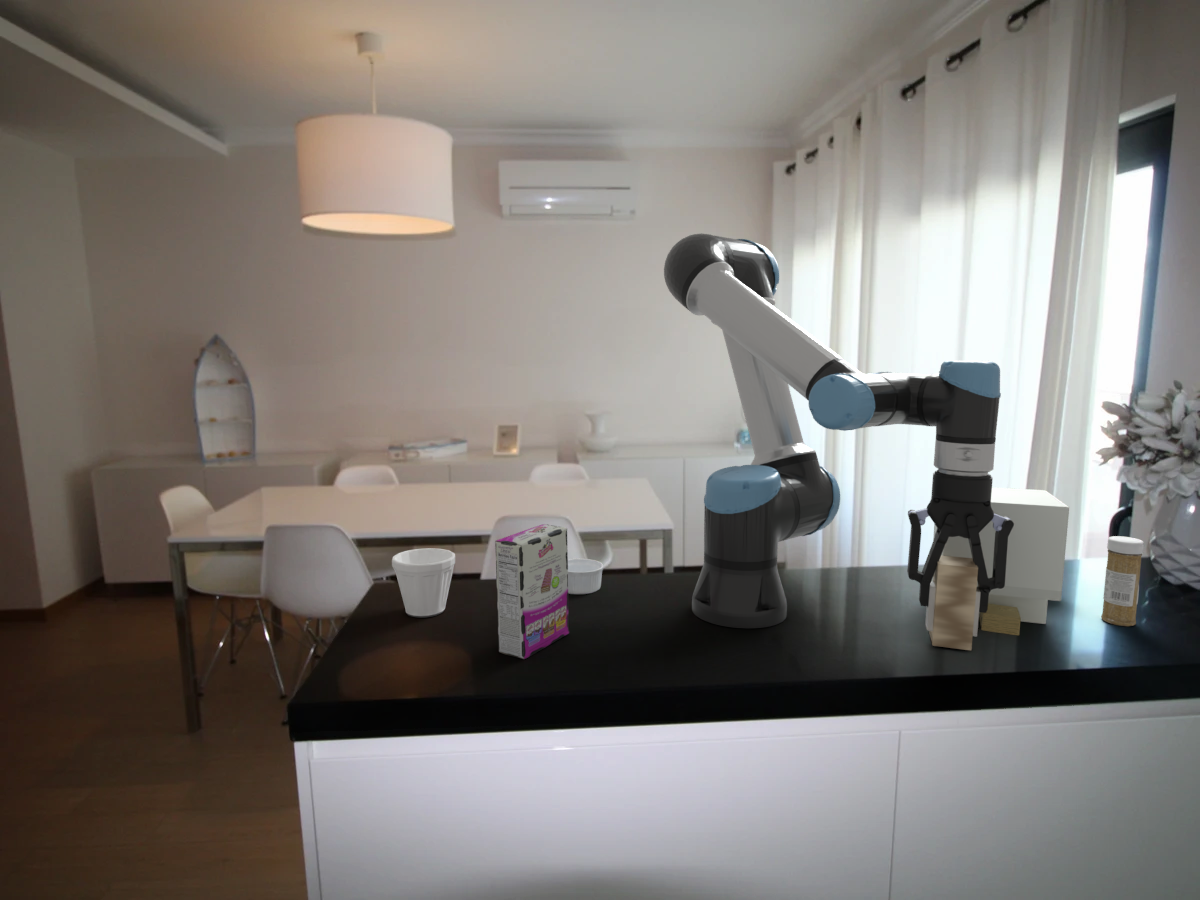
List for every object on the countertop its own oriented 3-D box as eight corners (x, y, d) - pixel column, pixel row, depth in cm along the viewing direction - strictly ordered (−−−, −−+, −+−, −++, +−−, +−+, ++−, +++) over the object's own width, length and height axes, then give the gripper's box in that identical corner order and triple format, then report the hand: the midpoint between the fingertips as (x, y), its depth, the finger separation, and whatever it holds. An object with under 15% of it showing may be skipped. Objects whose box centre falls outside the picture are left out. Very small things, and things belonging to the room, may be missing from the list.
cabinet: (938, 626, 112) (946, 499, 109) (929, 598, 125) (936, 484, 122) (1057, 640, 107) (1069, 507, 104) (1035, 609, 120) (1045, 490, 117)
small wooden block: (981, 631, 111) (983, 612, 110) (979, 620, 115) (981, 602, 115) (1018, 637, 109) (1020, 618, 108) (1015, 625, 113) (1017, 607, 113)
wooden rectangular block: (932, 645, 104) (938, 564, 102) (923, 610, 118) (928, 538, 116) (971, 650, 102) (978, 567, 100) (957, 613, 116) (962, 541, 115)
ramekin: (574, 577, 136) (574, 555, 136) (613, 586, 131) (613, 563, 131) (543, 589, 129) (543, 566, 129) (583, 599, 124) (583, 575, 124)
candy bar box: (542, 627, 111) (542, 523, 109) (570, 634, 108) (569, 527, 106) (495, 653, 101) (493, 538, 99) (523, 661, 99) (522, 543, 97)
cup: (381, 612, 117) (379, 556, 116) (433, 597, 125) (432, 544, 124) (416, 627, 111) (414, 568, 109) (469, 611, 118) (468, 555, 117)
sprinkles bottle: (1140, 623, 114) (1149, 539, 112) (1128, 629, 111) (1136, 544, 109) (1107, 614, 117) (1115, 533, 116) (1094, 620, 115) (1102, 537, 113)
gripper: (894, 471, 101) (884, 631, 104) (1042, 479, 95) (1027, 648, 98) (892, 463, 108) (882, 613, 111) (1029, 471, 102) (1015, 629, 105)
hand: (950, 629), depth 105 cm, fingers closed on wooden rectangular block, 5 cm apart
